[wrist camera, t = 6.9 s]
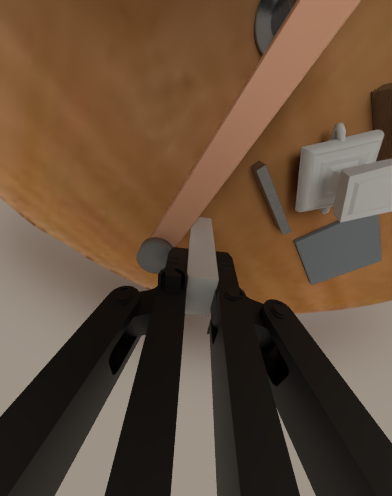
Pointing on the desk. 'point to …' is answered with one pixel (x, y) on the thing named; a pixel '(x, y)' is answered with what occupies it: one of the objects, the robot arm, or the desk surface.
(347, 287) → the desk surface
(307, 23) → the ball-knob lever
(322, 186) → the stamp
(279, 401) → the robot arm
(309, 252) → the pad
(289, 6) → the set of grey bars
